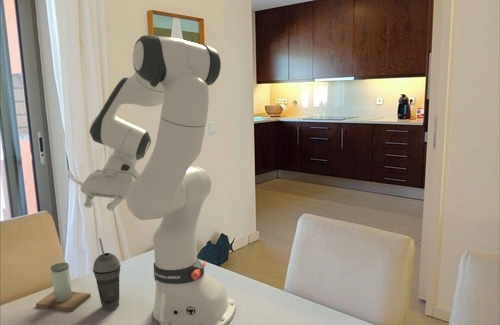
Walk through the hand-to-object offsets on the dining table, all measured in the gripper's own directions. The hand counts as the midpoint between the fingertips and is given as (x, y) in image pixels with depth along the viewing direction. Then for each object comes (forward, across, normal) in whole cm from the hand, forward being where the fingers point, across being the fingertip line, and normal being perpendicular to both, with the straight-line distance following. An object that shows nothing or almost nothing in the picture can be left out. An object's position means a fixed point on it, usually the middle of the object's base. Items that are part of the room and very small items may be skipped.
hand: (98, 208), depth 125 cm
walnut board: (+28, -1, +6) cm, 28 cm away
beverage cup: (+25, +14, +9) cm, 30 cm away
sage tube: (+27, -1, +6) cm, 27 cm away
